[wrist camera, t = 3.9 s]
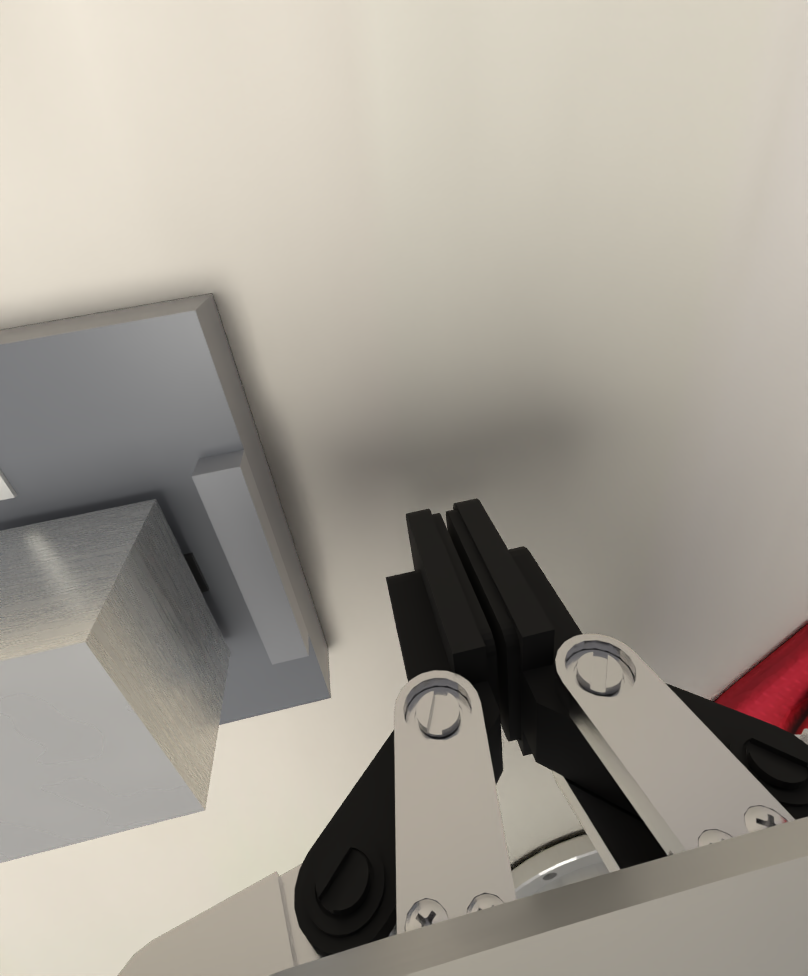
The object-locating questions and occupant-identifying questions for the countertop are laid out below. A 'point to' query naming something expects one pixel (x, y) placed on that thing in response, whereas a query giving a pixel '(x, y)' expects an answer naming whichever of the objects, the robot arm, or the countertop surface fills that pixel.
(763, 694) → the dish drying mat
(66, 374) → the fader console
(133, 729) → the fader knob
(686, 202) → the countertop surface
